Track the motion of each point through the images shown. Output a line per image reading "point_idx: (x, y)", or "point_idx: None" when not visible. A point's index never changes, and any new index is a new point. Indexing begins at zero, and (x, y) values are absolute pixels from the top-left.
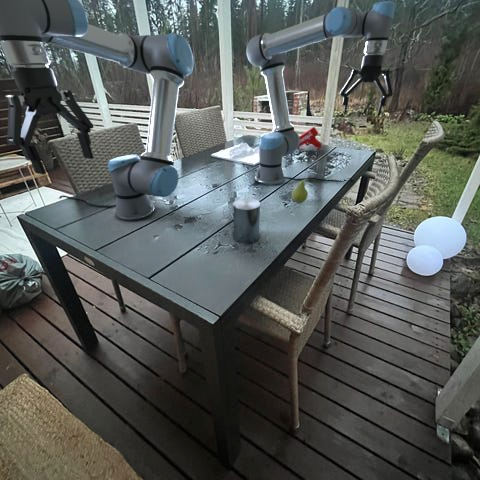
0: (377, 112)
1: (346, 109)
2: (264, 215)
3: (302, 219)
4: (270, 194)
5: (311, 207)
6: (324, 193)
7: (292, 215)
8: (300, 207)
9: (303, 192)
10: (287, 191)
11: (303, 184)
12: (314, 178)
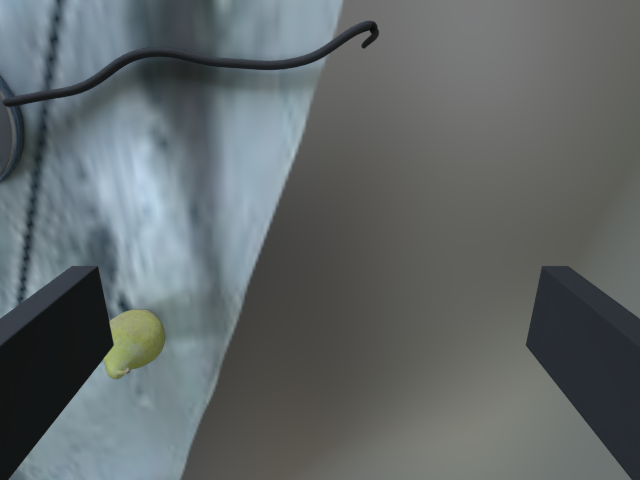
0: (552, 303)
1: (77, 387)
2: (69, 422)
3: (180, 422)
4: (24, 278)
5: (195, 349)
6: (230, 224)
7: (147, 407)
8: (160, 356)
9: (142, 365)
10: (79, 235)
11: (124, 374)
12: (164, 55)
